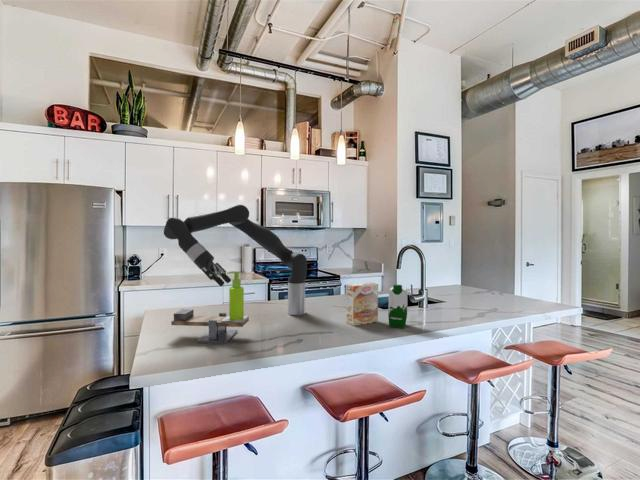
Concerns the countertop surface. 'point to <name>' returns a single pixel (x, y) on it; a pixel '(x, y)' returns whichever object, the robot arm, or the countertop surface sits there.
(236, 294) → the soap dispenser
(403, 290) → the milk carton
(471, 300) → the countertop surface
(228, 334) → the seesaw stand
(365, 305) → the coffeecake box
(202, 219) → the robot arm
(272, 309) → the countertop surface
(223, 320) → the seesaw board
